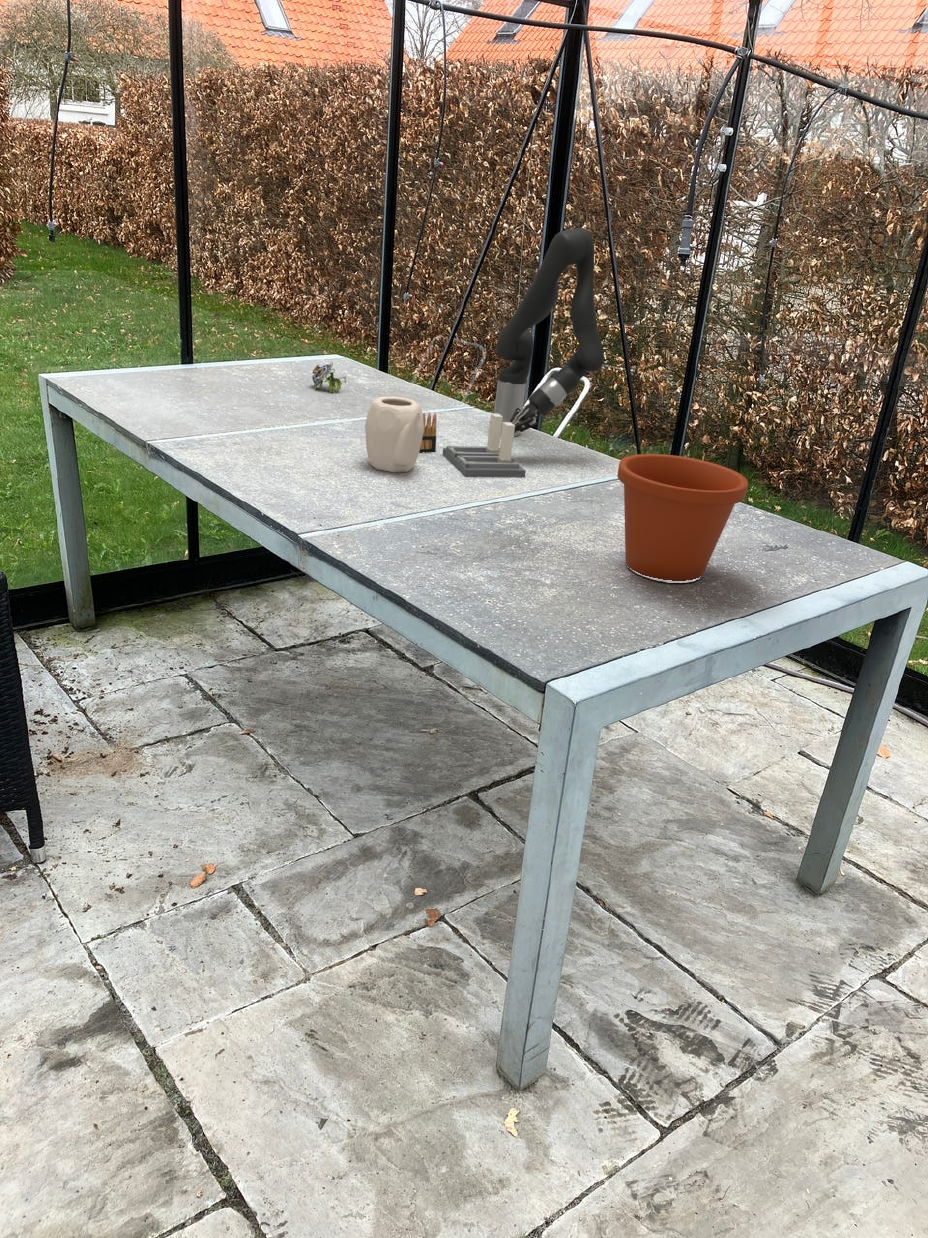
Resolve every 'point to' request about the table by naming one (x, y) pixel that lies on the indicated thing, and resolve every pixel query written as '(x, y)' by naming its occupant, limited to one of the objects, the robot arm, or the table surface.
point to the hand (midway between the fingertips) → (504, 436)
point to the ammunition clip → (429, 435)
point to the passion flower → (326, 377)
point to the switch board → (481, 462)
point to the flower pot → (675, 512)
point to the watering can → (394, 433)
